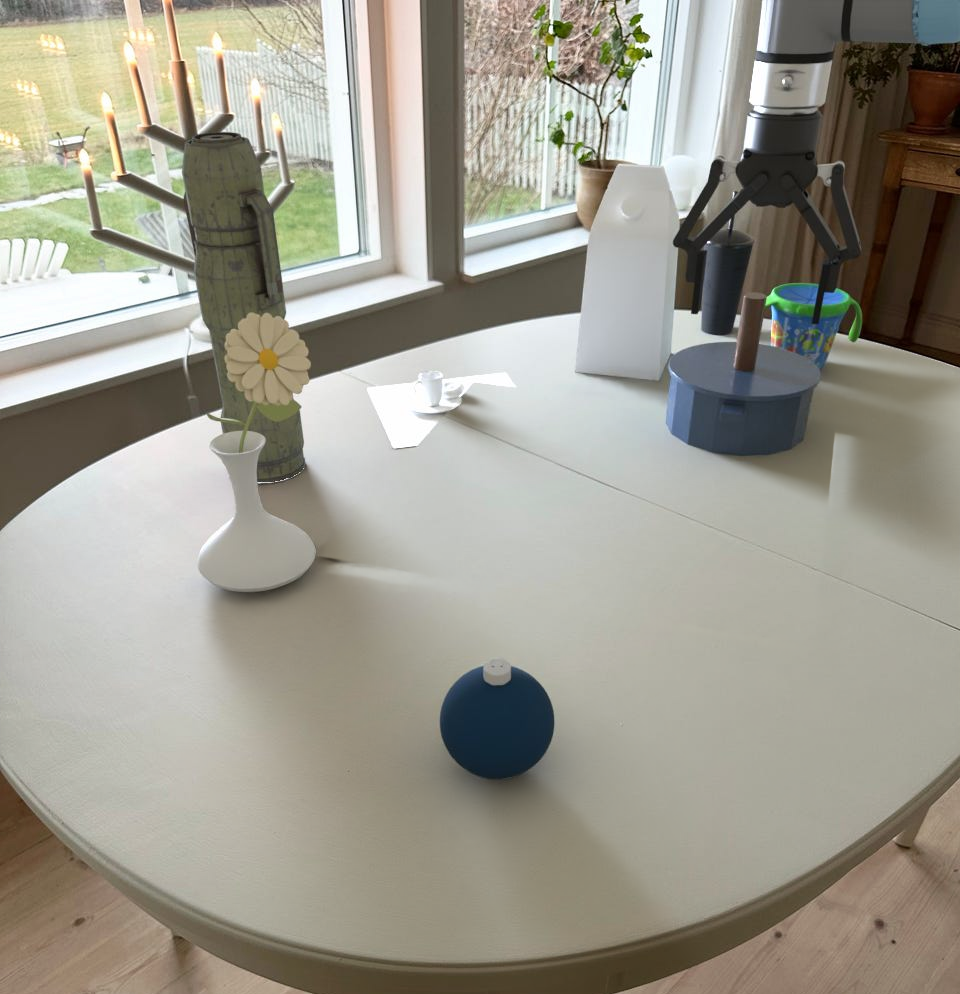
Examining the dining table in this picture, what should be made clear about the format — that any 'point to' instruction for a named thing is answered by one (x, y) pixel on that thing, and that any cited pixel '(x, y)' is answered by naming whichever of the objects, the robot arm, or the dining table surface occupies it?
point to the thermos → (237, 276)
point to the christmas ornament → (497, 721)
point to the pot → (736, 422)
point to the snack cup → (809, 320)
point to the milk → (630, 277)
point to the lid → (745, 364)
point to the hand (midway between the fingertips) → (754, 315)
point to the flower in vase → (252, 531)
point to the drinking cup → (724, 277)
